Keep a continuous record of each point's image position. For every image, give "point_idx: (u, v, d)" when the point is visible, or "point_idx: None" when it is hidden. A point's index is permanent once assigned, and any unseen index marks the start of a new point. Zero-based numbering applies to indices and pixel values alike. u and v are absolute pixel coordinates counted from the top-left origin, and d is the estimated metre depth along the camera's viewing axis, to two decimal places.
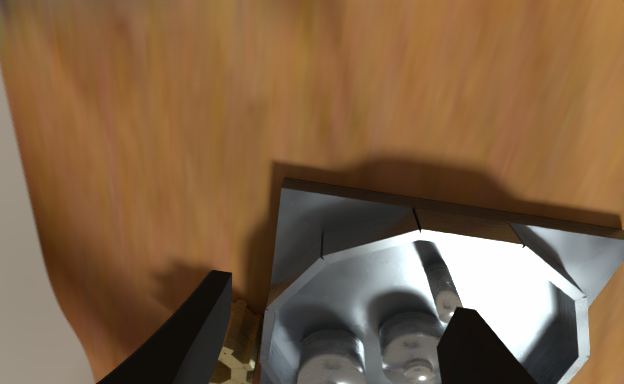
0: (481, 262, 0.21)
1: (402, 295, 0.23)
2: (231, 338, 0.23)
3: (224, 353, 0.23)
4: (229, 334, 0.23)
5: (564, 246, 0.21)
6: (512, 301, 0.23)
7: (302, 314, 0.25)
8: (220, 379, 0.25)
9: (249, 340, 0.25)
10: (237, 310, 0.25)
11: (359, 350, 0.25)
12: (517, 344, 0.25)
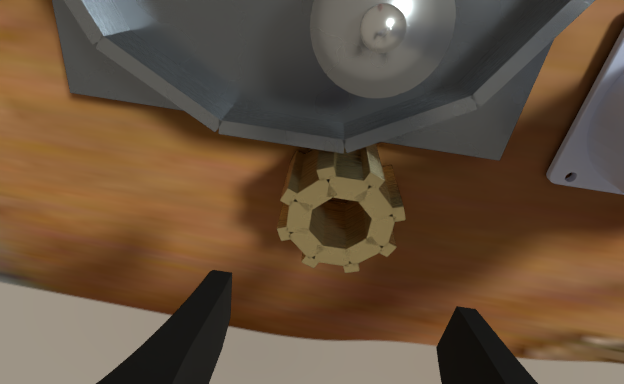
0: None
1: None
2: (285, 186, 0.16)
3: (296, 201, 0.15)
4: (284, 187, 0.16)
5: None
6: None
7: (283, 73, 0.15)
8: (371, 214, 0.16)
9: None
10: (289, 166, 0.18)
11: None
12: None
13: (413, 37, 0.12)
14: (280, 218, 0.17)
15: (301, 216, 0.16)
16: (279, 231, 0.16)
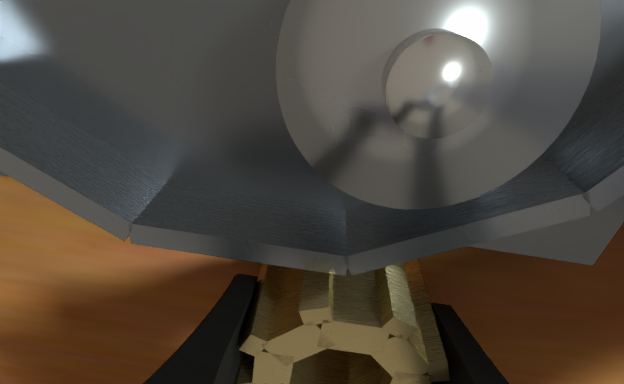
0: None
1: None
2: (250, 318, 0.10)
3: (265, 351, 0.09)
4: (248, 316, 0.10)
5: None
6: None
7: (245, 135, 0.09)
8: None
9: None
10: (262, 266, 0.12)
11: None
12: None
13: (497, 100, 0.05)
14: (245, 358, 0.11)
15: (275, 370, 0.10)
16: None
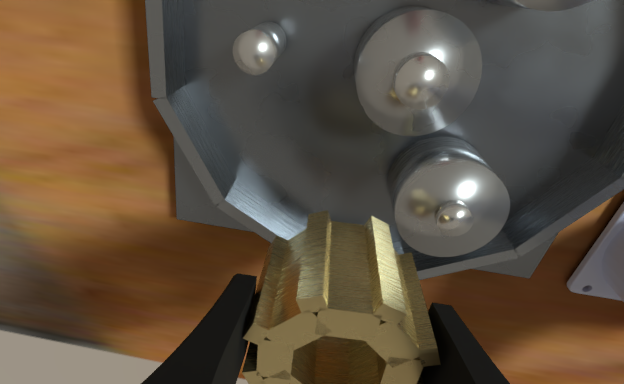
0: None
1: (319, 86, 0.16)
2: (253, 310, 0.10)
3: (268, 339, 0.10)
4: (252, 308, 0.11)
5: None
6: None
7: (357, 212, 0.19)
8: None
9: None
10: (265, 263, 0.12)
11: (417, 151, 0.16)
12: None
13: (475, 221, 0.15)
14: (250, 348, 0.11)
15: (278, 358, 0.10)
16: (246, 375, 0.11)
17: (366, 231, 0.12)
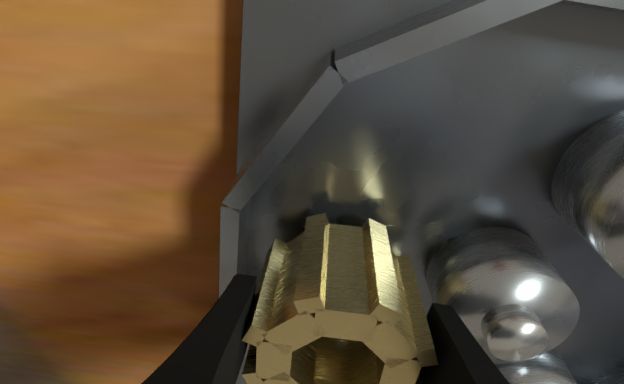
0: (317, 196, 0.13)
1: None
2: (252, 312, 0.11)
3: (266, 341, 0.10)
4: (251, 311, 0.11)
5: (273, 74, 0.11)
6: (413, 129, 0.12)
7: None
8: None
9: None
10: (264, 266, 0.13)
11: None
12: (559, 86, 0.11)
13: None
14: (249, 351, 0.11)
15: (276, 360, 0.10)
16: (245, 377, 0.11)
17: (364, 233, 0.12)
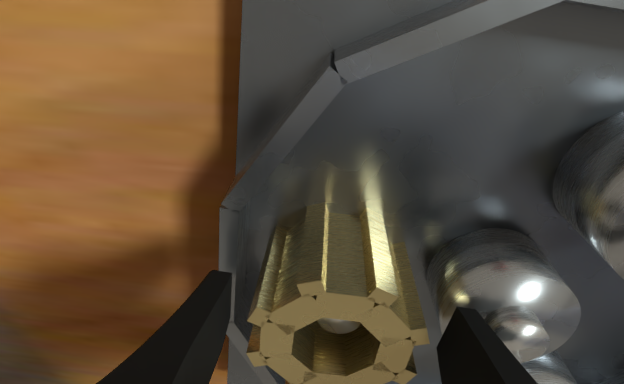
0: (317, 197, 0.13)
1: None
2: (256, 295, 0.11)
3: (270, 321, 0.11)
4: (255, 294, 0.11)
5: (272, 74, 0.11)
6: (413, 130, 0.12)
7: None
8: None
9: None
10: (266, 252, 0.13)
11: None
12: (560, 87, 0.11)
13: None
14: (253, 332, 0.12)
15: (279, 339, 0.11)
16: (249, 355, 0.11)
17: (361, 222, 0.13)
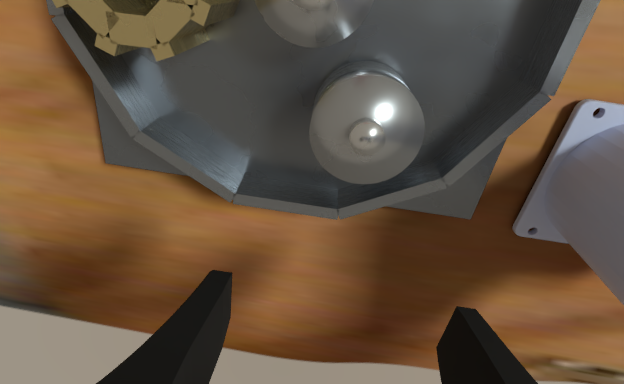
0: None
1: None
2: None
3: None
4: None
5: None
6: None
7: (287, 150, 0.18)
8: None
9: None
10: None
11: (335, 74, 0.16)
12: None
13: (392, 141, 0.15)
14: None
15: None
16: None
17: None
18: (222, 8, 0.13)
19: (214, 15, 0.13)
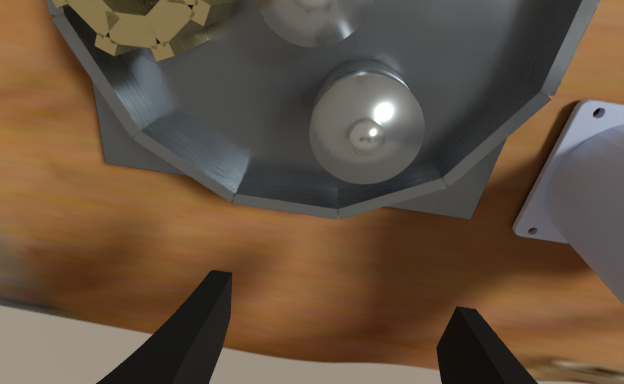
0: None
1: None
2: None
3: None
4: None
5: None
6: None
7: (287, 150, 0.18)
8: None
9: None
10: None
11: (335, 74, 0.16)
12: None
13: (392, 141, 0.15)
14: None
15: None
16: None
17: None
18: (222, 8, 0.13)
19: (214, 15, 0.13)
